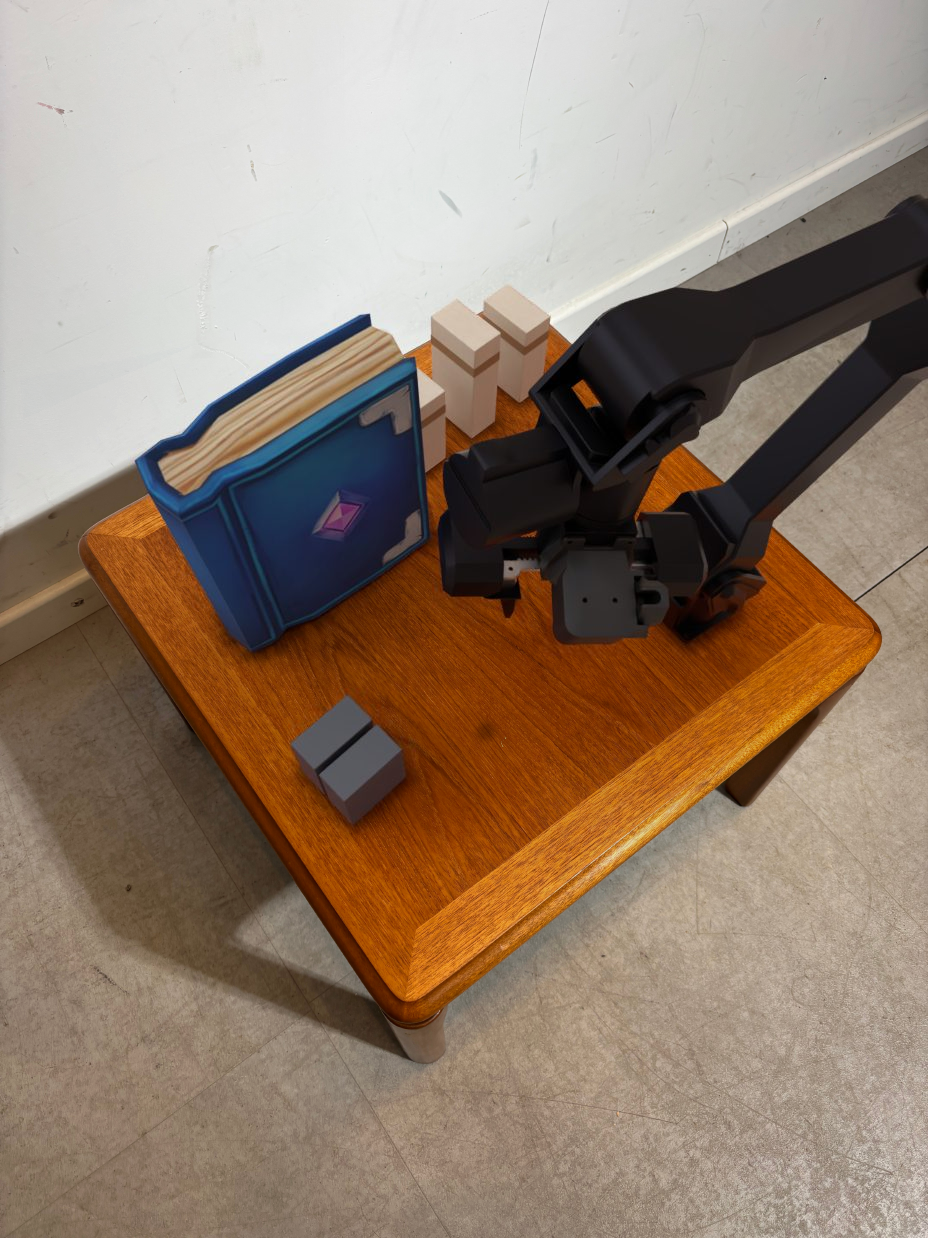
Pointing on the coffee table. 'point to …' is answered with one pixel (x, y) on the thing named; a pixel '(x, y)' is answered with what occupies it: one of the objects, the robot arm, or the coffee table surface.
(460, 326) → the white lidded box
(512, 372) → the cream lidded boxes
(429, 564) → the coffee table surface
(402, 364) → the book
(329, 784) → the grey blocks
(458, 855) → the coffee table surface
